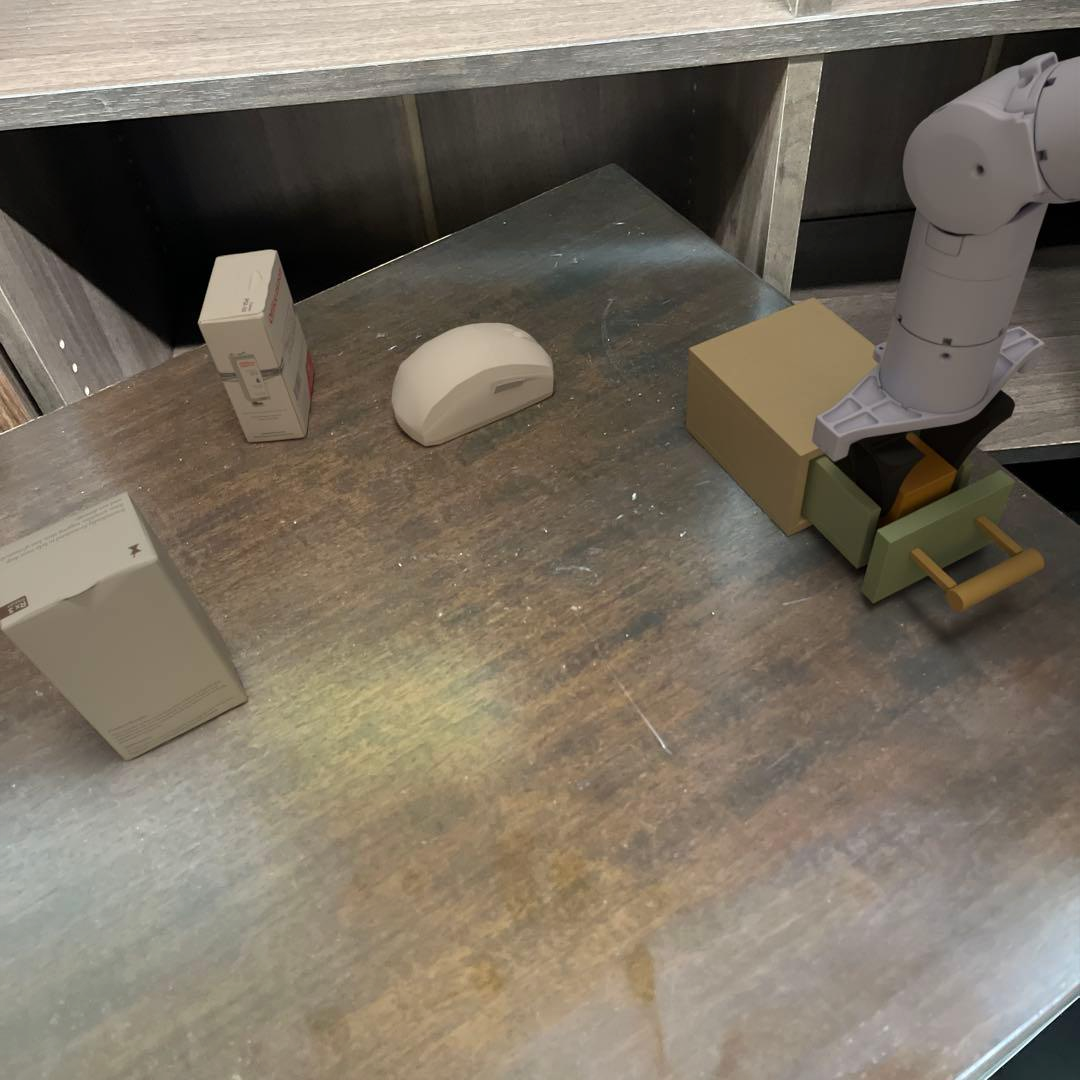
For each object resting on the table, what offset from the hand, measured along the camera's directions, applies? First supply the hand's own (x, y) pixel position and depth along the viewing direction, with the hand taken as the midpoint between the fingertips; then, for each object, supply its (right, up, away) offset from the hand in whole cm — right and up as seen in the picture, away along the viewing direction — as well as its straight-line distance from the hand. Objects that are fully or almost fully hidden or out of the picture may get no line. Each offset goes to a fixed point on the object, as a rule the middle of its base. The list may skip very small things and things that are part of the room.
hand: (901, 492), depth 62 cm
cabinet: (-4, +3, +10) cm, 11 cm away
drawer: (+1, -3, +3) cm, 4 cm away
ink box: (-43, +8, +18) cm, 48 cm away
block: (0, -1, +1) cm, 1 cm away
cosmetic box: (-46, -13, 0) cm, 47 cm away
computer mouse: (-28, +8, +16) cm, 33 cm away
